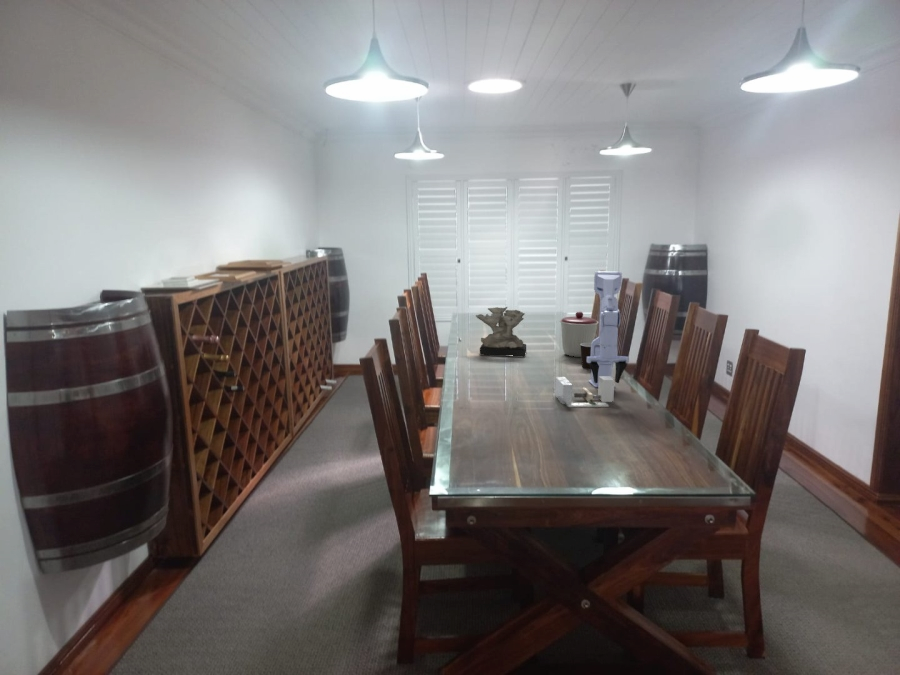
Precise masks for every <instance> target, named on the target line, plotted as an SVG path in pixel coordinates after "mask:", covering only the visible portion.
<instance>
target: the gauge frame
mask: <svg viewBox="0 0 900 675" xmlns="http://www.w3.org/2000/svg"><path fill="white" fill-rule="evenodd" d="M554 387H555V388H554V390H555V392H554V396H555V398H556V399H557V398H558V399H557V400H558V401H559V402H560V403H562V404H565V405H566V407H568V408H609V407H610V404H609V402H595V403H596V405H594V404H593V403H592V402H573V384H572V383H571V382H570V381H569V379H567V377H565V376H556V377H555V386H554ZM562 404H561V405H562Z"/></svg>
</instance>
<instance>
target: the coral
mask: <svg viewBox="0 0 900 675" xmlns="http://www.w3.org/2000/svg"><path fill="white" fill-rule="evenodd" d="M487 310H488V311H489V312H491V315H489V314H488V313H486V315H484V314H482V313H479V314H476V315H475V317H476V318H477V319H478V320H479V321H481V322H483V323H484V324H486V325H487V326H488V327H490V328H491V331H492V333H489V334H488V335H486V337H481V338H480V342H481V343H482V344H481V346H480V347H479V355H480V354H484V355H483V356H490V355H513V356H525V357H526V354H527V344H526V343H524V340H522V339H520V338H519V337H518V336H517V335H516V334H514V329H515V327H517V326H518V325H519V324H521V322H523V320H525V319H524V315H526V313H525V312H523V311H520V310H519V309H514V310H513V309H512V310H511V309H508V306H505V307H490V308H487ZM497 325H498V326H497ZM525 353H526V354H525Z"/></svg>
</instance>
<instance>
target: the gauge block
mask: <svg viewBox="0 0 900 675" xmlns="http://www.w3.org/2000/svg"><path fill="white" fill-rule="evenodd" d="M614 385H615V378H613V376H612V377H610V376H599V385H598V387H597V395H596V394H595V395H593V400H594V399H595V400H596V399H597V400H599V399H600V400H601V401H600V400H599V401H600V402H601V403H605V402H607V403H613V402H614V396H615V395H614V394H615V393H614V392H615V387H614ZM612 401H613V402H612Z"/></svg>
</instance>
